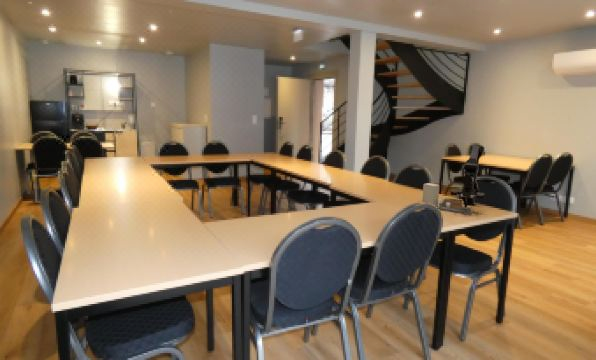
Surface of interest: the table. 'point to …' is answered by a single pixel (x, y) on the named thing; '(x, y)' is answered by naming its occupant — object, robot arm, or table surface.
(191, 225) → the table surface
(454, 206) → the tan rectangular box
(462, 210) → the board
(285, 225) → the table surface
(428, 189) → the skincare box
